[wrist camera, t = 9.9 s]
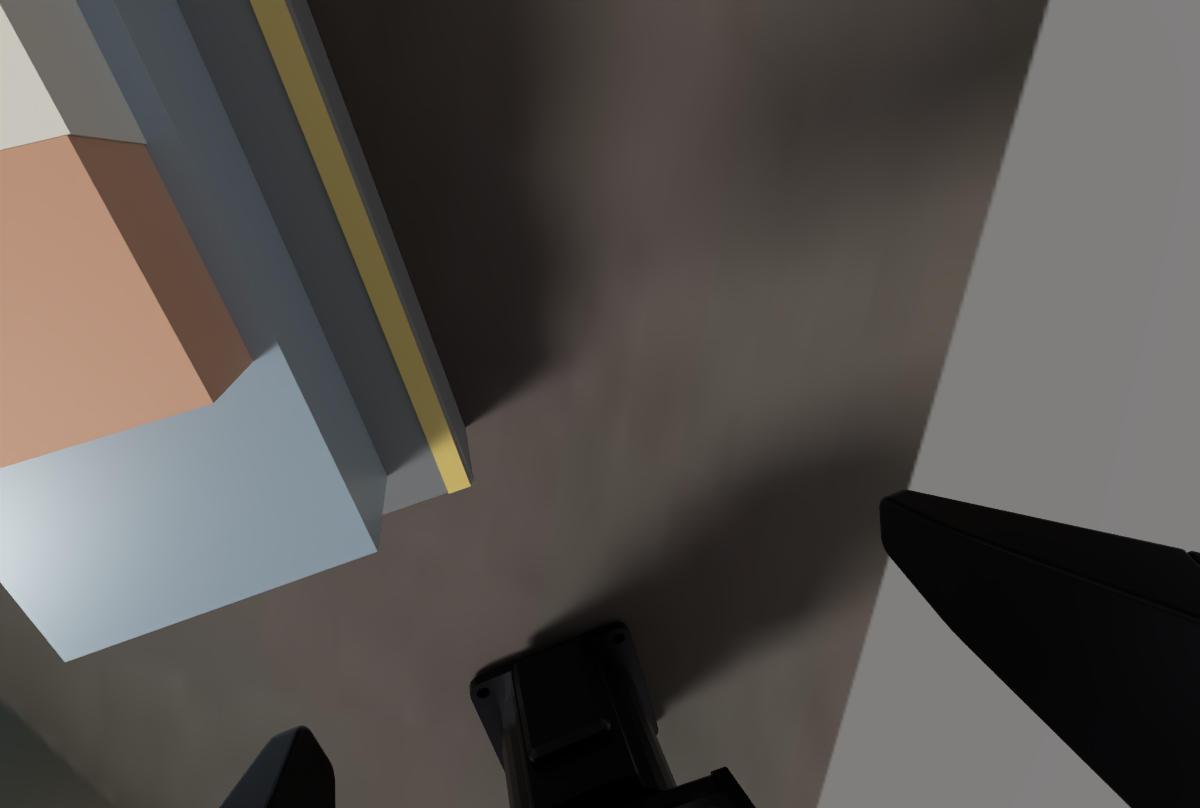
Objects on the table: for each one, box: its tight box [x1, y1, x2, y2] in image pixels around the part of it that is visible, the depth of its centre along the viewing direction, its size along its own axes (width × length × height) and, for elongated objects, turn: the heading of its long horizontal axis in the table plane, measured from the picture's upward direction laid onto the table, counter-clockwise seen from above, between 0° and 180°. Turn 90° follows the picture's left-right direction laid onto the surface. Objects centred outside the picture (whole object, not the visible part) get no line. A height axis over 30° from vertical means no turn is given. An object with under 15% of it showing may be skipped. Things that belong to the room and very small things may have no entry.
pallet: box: [0, 0, 387, 662], centre depth 10 cm, size 16×6×4 cm, turn 14°
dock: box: [176, 0, 474, 515], centre depth 14 cm, size 18×10×4 cm, turn 14°
